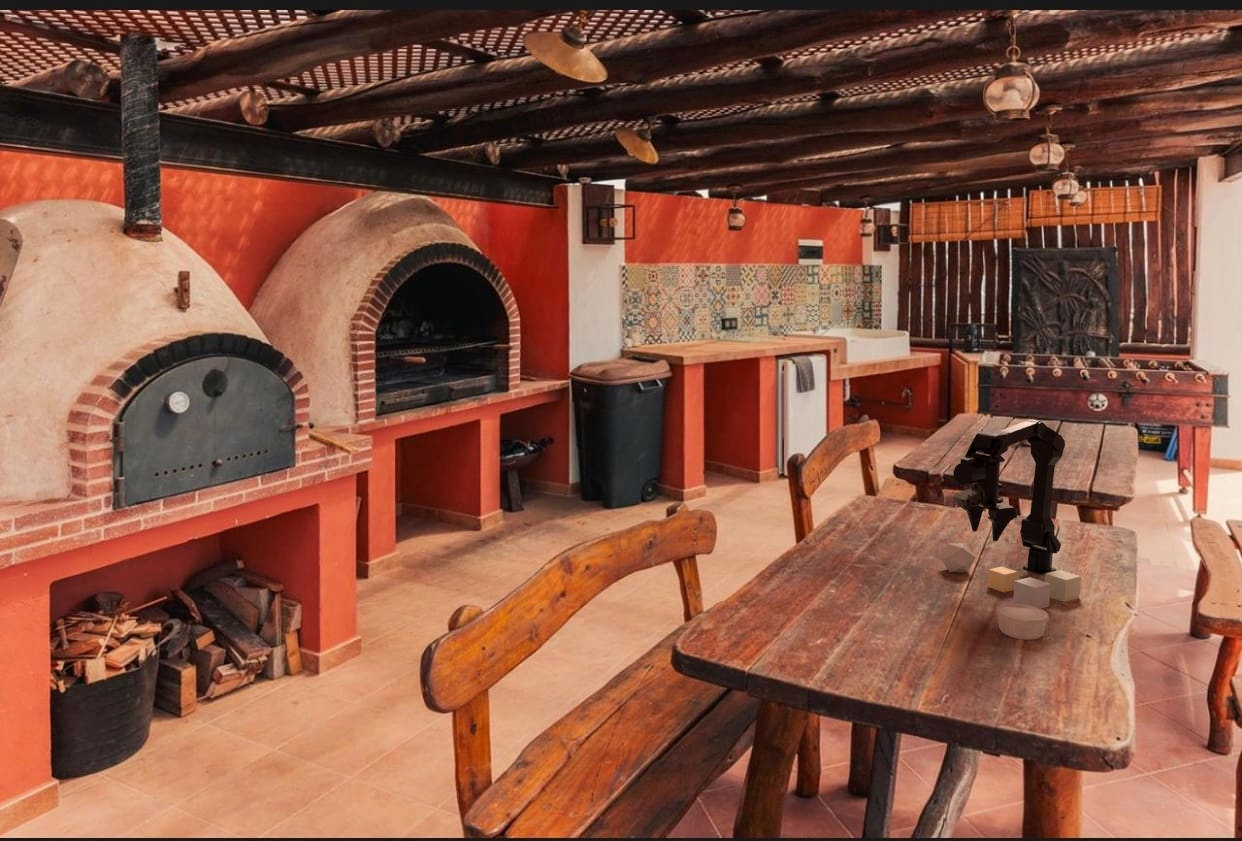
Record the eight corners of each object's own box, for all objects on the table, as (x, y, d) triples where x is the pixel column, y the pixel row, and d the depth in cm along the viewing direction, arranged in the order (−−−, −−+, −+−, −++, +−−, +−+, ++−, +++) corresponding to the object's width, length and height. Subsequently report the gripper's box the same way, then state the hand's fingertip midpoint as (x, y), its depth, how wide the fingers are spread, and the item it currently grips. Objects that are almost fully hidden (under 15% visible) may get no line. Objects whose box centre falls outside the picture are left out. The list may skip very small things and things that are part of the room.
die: (969, 580, 253) (984, 550, 254) (941, 563, 253) (957, 534, 255) (958, 580, 261) (973, 552, 262) (931, 565, 261) (946, 536, 263)
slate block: (1028, 599, 236) (1030, 577, 235) (1049, 606, 231) (1050, 583, 230) (1013, 603, 233) (1014, 580, 232) (1033, 610, 228) (1035, 587, 227)
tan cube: (1058, 591, 242) (1060, 569, 241) (1079, 598, 236) (1080, 576, 235) (1043, 595, 239) (1045, 573, 238) (1064, 602, 233) (1066, 580, 233)
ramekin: (1033, 623, 219) (1034, 602, 219) (1056, 641, 208) (1058, 619, 208) (987, 624, 219) (988, 603, 218) (1008, 642, 208) (1009, 620, 207)
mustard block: (1000, 584, 247) (1001, 566, 247) (1016, 589, 243) (1017, 571, 242) (987, 587, 245) (989, 569, 244) (1003, 592, 241) (1004, 574, 240)
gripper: (940, 474, 249) (938, 529, 251) (981, 489, 231) (978, 548, 233) (977, 471, 251) (974, 525, 254) (1020, 486, 233) (1016, 545, 236)
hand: (984, 536), depth 244 cm, fingers open, 9 cm apart
